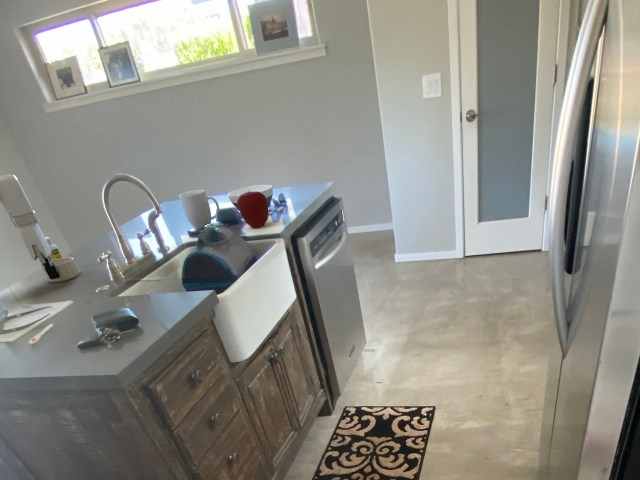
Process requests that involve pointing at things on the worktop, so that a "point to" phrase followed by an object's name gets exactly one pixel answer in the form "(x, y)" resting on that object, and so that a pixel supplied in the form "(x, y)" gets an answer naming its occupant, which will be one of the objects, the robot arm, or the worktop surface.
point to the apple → (253, 208)
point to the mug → (197, 208)
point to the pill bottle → (53, 249)
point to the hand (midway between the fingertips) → (55, 277)
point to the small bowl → (63, 269)
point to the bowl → (264, 189)
